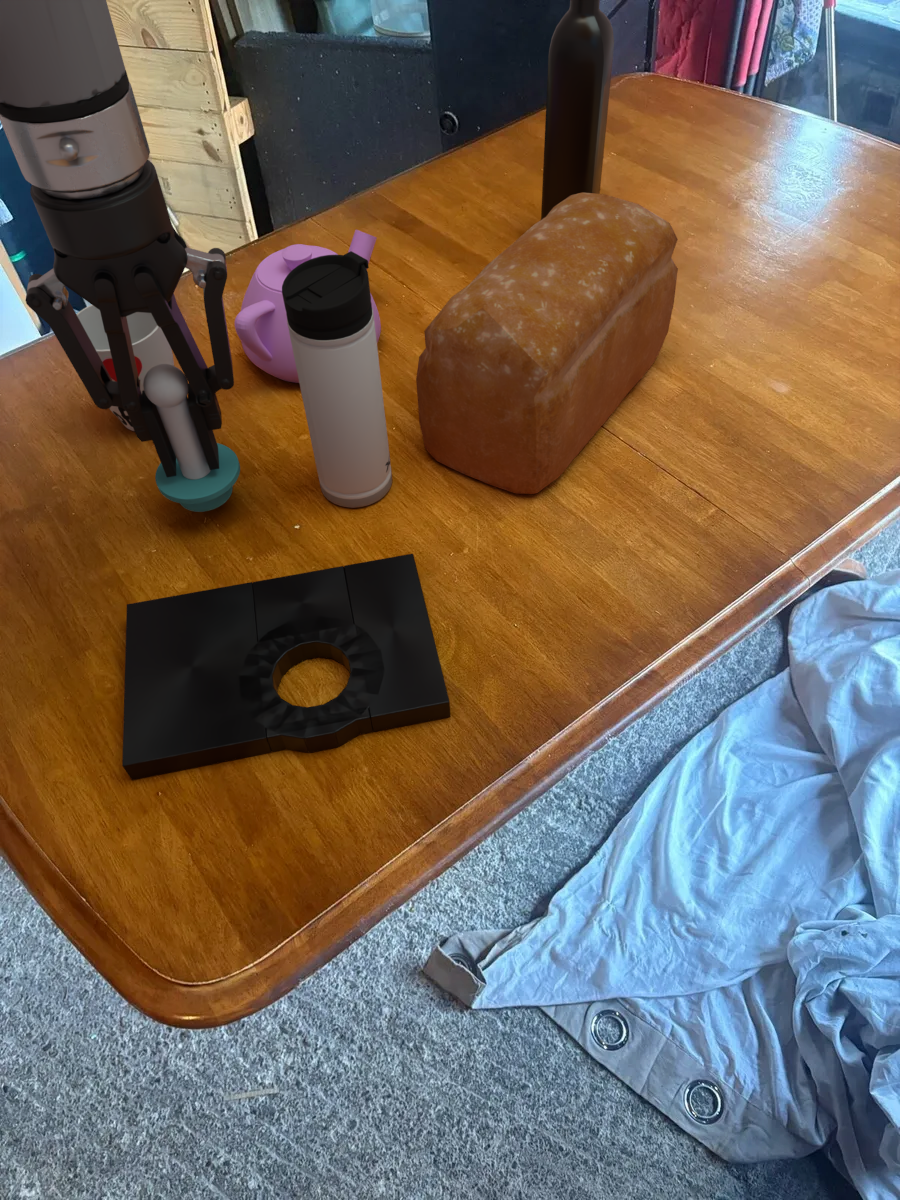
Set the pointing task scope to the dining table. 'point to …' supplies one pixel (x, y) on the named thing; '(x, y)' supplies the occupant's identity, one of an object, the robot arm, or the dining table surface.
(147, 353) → the cup
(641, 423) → the dining table surface
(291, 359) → the teapot
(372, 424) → the travel mug
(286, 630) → the plate
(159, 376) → the stopper
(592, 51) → the wine bottle
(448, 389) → the bread
